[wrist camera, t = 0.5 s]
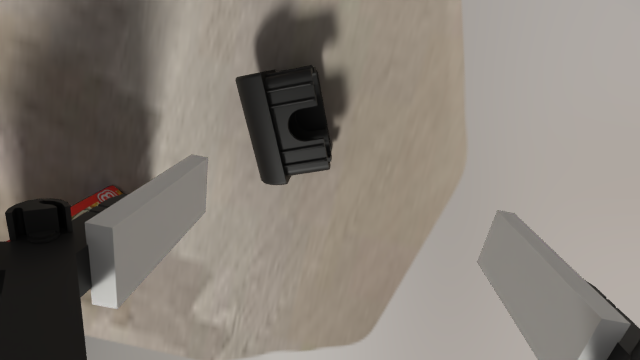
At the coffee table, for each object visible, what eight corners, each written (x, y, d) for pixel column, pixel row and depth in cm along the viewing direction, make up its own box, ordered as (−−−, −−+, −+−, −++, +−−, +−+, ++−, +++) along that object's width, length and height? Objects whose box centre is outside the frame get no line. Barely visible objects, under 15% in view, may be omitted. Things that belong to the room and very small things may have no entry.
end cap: (247, 75, 35) (224, 79, 28) (315, 61, 34) (308, 62, 27) (270, 167, 38) (254, 189, 32) (333, 157, 37) (330, 178, 31)
